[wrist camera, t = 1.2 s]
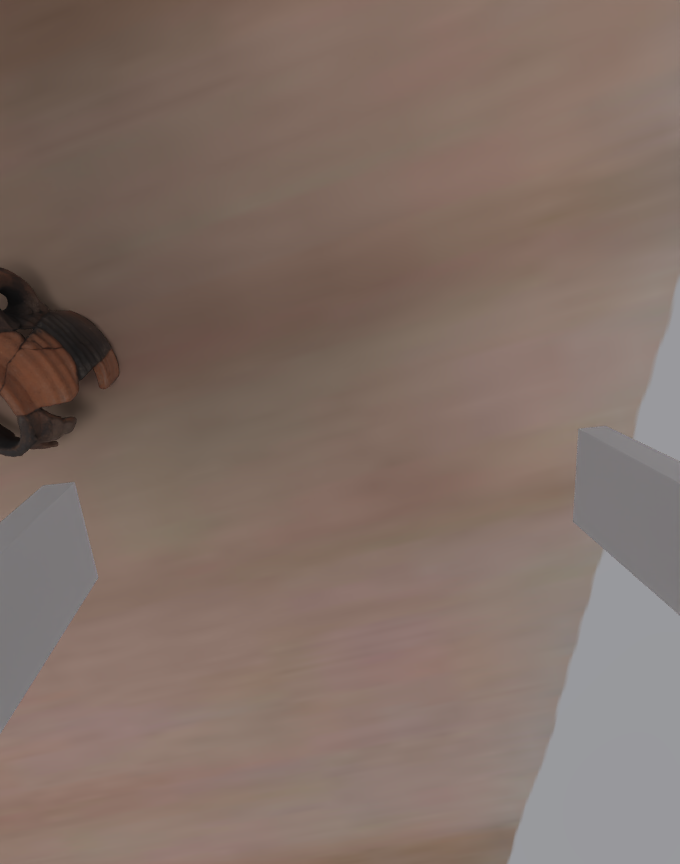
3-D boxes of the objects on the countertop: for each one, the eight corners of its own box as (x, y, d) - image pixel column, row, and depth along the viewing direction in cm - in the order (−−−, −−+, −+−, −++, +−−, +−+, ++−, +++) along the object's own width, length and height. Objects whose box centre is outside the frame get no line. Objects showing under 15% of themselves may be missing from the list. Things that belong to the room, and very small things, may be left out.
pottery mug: (146, 408, 40) (65, 474, 33) (53, 403, 43) (-36, 461, 37) (82, 245, 33) (-32, 287, 27) (-20, 254, 37) (-144, 292, 30)
